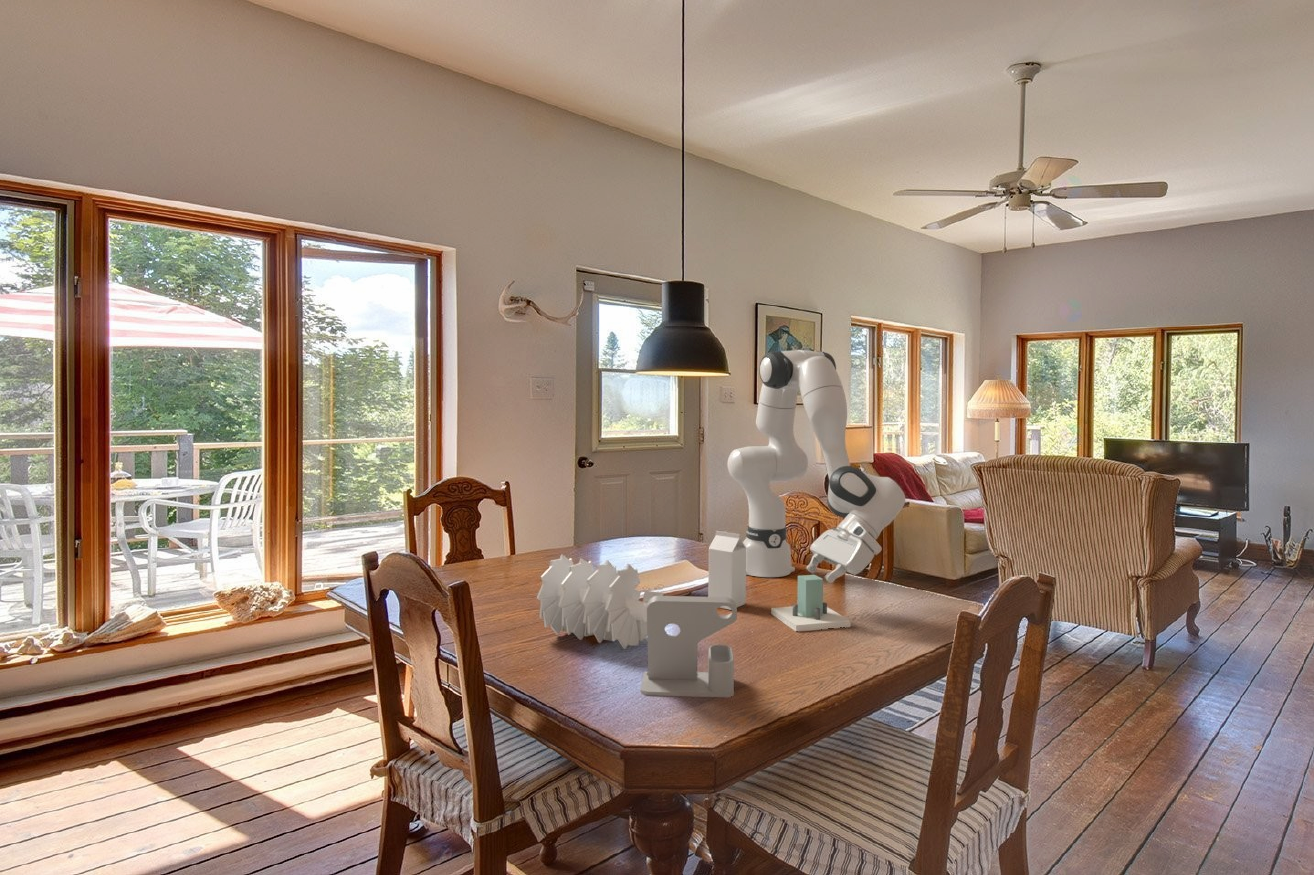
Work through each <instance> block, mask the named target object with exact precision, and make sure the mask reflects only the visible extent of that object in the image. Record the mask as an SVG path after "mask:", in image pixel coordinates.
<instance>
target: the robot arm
mask: <svg viewBox="0 0 1314 875" xmlns="http://www.w3.org/2000/svg"><path fill="white" fill-rule="evenodd" d="M758 371H759V378H760V381H761V382H762V383H761V388H760V393H759V397H758V404H757V411H756V418H755V426H756V428H757V430H758V431H759V432H760V433H761V434H762V435H764V436H766V437H767V438H768V445H755V446H754V445H753V446H752V445H751V446H744V447H739V448H736V449H733V450H732V451H731V452H730V454H729V456H728V458H727V463H726V465H727V466H726V467H727V470H728V474H729V475H730V477H731V478H732V479H733V480H734V481H735V482H737V483H738V484H739V485H740V486H741V488H742V490H743V491H744V493H745V496H746V498H747V503H748V525H747V526H746V527H747V528H746V534H745V539H744V540H743V541H742V542H743V544H744V545H745V546H746V576H752V577H753V576H754V577H759V578H780V577H781V578H782V577H785V576H788V575H790V574H791V573H793V572H795V571H796V568H795V566H792V556H791V555H792V554H791V545H790V544H789V543H788V542H787V536H788V531H787V530H788V529H787V527H786V507H787V506H786V503H785V500H784V499H783V498H782V497H781V496H779V495H777V494H776V493H774V492H772V489H771V485H770V484H771V483H773V482H789V481H794V480H797V479H801V478H803V477H804V476H805V475H806V473H807V471H808V468H809V460H808V457H807V454H806V452H805V451H804V450H803V448H801V447H800V446H799V444H798V443H797V441H796V439H795V435H794V433H795V432H794V423H795V416H796V415H795V414H796V408H797V403H798V402H797V401H798V393H799V392H800V396H801V402H802V404H803V408H804V411H805V413H806V416H807V419H808V421H809V423H810V425H811V428H812V430H813V433H814V434H815V437H816V439H817V441H818V444H819V446H820V448H821V453H822V457H823V461H824V465H825V469H826V473H827V477H828V490H827V497H826V503H827V506H828V508H829V510H830V511H831V512H832V513H833V514H834V515H835V516H837V517H840V518H843V519H842V521H841V522H839V524H838V525H837V526H836V527H834V528H832V529H827V530H824V532H823V533H821V535H819V536H818V538H816V539H815V540H814V541H813V542H812V543H811V544H810V546H809V550H810V552H811V553H812V554H813V555H812V557H811V560H810V562H809V564H808V565H807V566H806V570H807V571H808V572H809V573H811V574H815V572H816V571H817V570H818V568H817V567H818V565H819V564H821V563H822V562H823V561H824V562H826V563H827V564H831V565H833V566H834V567H835V569H833V570H832V571H830V572H827V573H826V575H824V580H826V581H827V582H828V583H830V584H833V583H834V581H835V580H836V579H838V578H840V577H842V576H845V574H846V573H849V574H851V575H854V576H855V575H858V574H860V573H861V572H862V571H863V570H864V569H865V568H866V567H868V565H869V564H871V563H870V562H872V560H873V559H874V557H875V555H879V554H880V553H881V551H882V549H883V548H882V546H881V545H880V544H879V543H878V541H877V539H878V538H879V537H880V535H881V532H882V531H883V529H885V527H887V526H890V524H891V523H892V522H893V521H894V520H895V518H896V517H897V516H898V515H899V513H900V512H901V510H902V509H903V507H904V506H905V503H906V494H905V491H904V490H903V488H902V487H901V486H900V484H899V483H898V482H897V481H896V480H895V479H893V478H891V477H889V476H877V475H873V474H871V473H867V472H865V471H863V470H861V469H860V468H858V467H856V466H853V465H851V463H850V459H849V458H850V457H849V455H848V452H847V451H848V450H847V445H846V431H847V420H848V405H847V404H848V403H847V396H846V394H845V390H844V387H843V384H842V380H841V378H840V376H839V374H838V372H837V365H836V361H835V359H834V357H833V356H832V355H831V354H830V353H828V352H825V351H821V350H816V351H815V350H809V349H806V350H805V349H796V350H781V351H780V350H774V351H769V352H767V353H765V354H764V355H763V357H762V359H761V361H760V362H759V368H758ZM770 482H771V483H770Z"/></svg>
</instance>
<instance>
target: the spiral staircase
mask: <svg viewBox="0 0 1314 875" xmlns="http://www.w3.org/2000/svg"><path fill="white" fill-rule="evenodd" d="M540 579H541V583H542V584H541V587H540V589H539V591H538V593H537V596H536V599H537V600H539V601H540V603H539V604H540V606H539V617H538V618H539V619H543V623H544V626H543V627H544V628H548V627H550V628H551V629H552V631H554V633H555V634H556V635H560V633H561V632H566V633H567V635H568V636H569V635H571V634H572V633H573V635H574V636H575V637H577V639H578V640H579V641H582V640H583V638H584V637H590V636H595V638H596V641H597V642H598V643H599V644H601V643H602V642H603V641H604V640H605V641H610V642H615V641H618V643H619V644H620V646H621V647H622V649H623V650H626V649H627V647H628V646H639V644H640V642H643V640H645V639H646V638H647V604H648V601H649V600H650V599H651V598H652V597H654V596H664V592H659V591H653V590H646V589H645V590H644V593H643V598H642V600H640V598H641V594H642V593H641V591H640V590H637V589H636V588H637V587H638V586H639V585H640V584H641V581H640V577H639V572H638V568H636V567H635V568H634V567H633V566H632V565H631V564H630V563H627V564H626V566H625V568H623V569H618V570H617V566H615V565H613V564H612V563H611V561H609V560H608V559H606V560H605V562H604V564H596V565H595V567H594V565H593V563H592V560H589V561H587V560H585V559H583V558H581V557H580V559H579V561H578V563H576V564H574V562H573V558H567V556H566V555H564V554H563V553H562V554H560V557H559V558H558V559H553V560H549V567H548V569H546V570H545V571H544V572H543V574H542V575H541V576H540Z"/></svg>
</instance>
